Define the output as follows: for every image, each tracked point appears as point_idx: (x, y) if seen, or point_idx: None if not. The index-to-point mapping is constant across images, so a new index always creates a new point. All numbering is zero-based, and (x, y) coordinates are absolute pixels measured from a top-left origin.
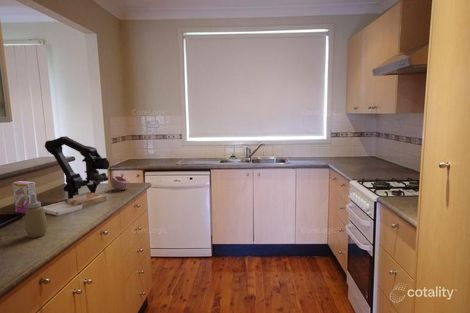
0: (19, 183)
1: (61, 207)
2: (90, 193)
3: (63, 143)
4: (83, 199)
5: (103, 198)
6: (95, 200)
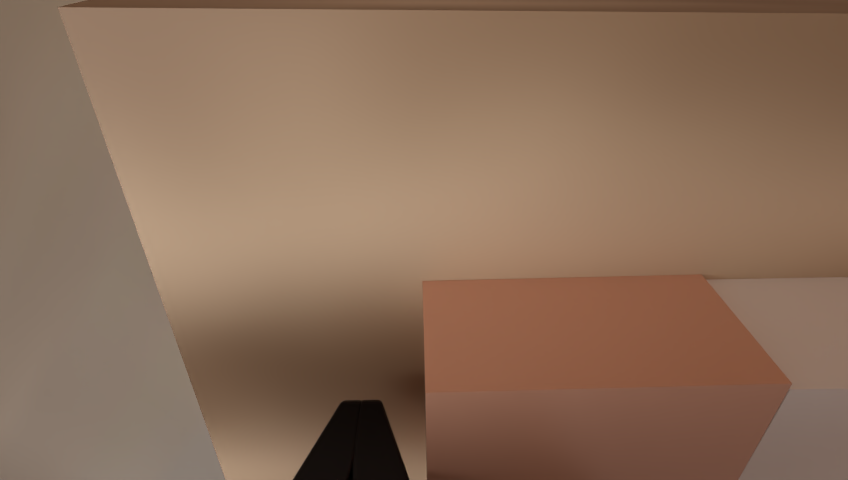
0: None
1: None
2: (562, 427)
3: None
4: (833, 286)
5: (240, 2)
6: (611, 3)
